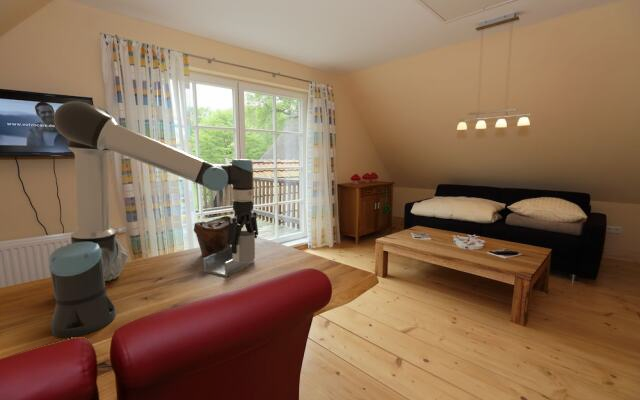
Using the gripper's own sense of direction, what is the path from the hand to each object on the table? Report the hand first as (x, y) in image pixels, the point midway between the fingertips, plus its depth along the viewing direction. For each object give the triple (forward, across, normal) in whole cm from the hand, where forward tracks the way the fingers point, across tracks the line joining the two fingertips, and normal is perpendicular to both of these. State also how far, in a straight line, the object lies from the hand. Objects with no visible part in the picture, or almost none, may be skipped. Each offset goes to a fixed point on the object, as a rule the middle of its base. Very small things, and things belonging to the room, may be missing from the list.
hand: (243, 257), depth 117 cm
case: (+10, +19, +32) cm, 39 cm away
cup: (+1, 0, 0) cm, 1 cm away
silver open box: (+10, +9, +14) cm, 19 cm away
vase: (+11, -21, +51) cm, 57 cm away
